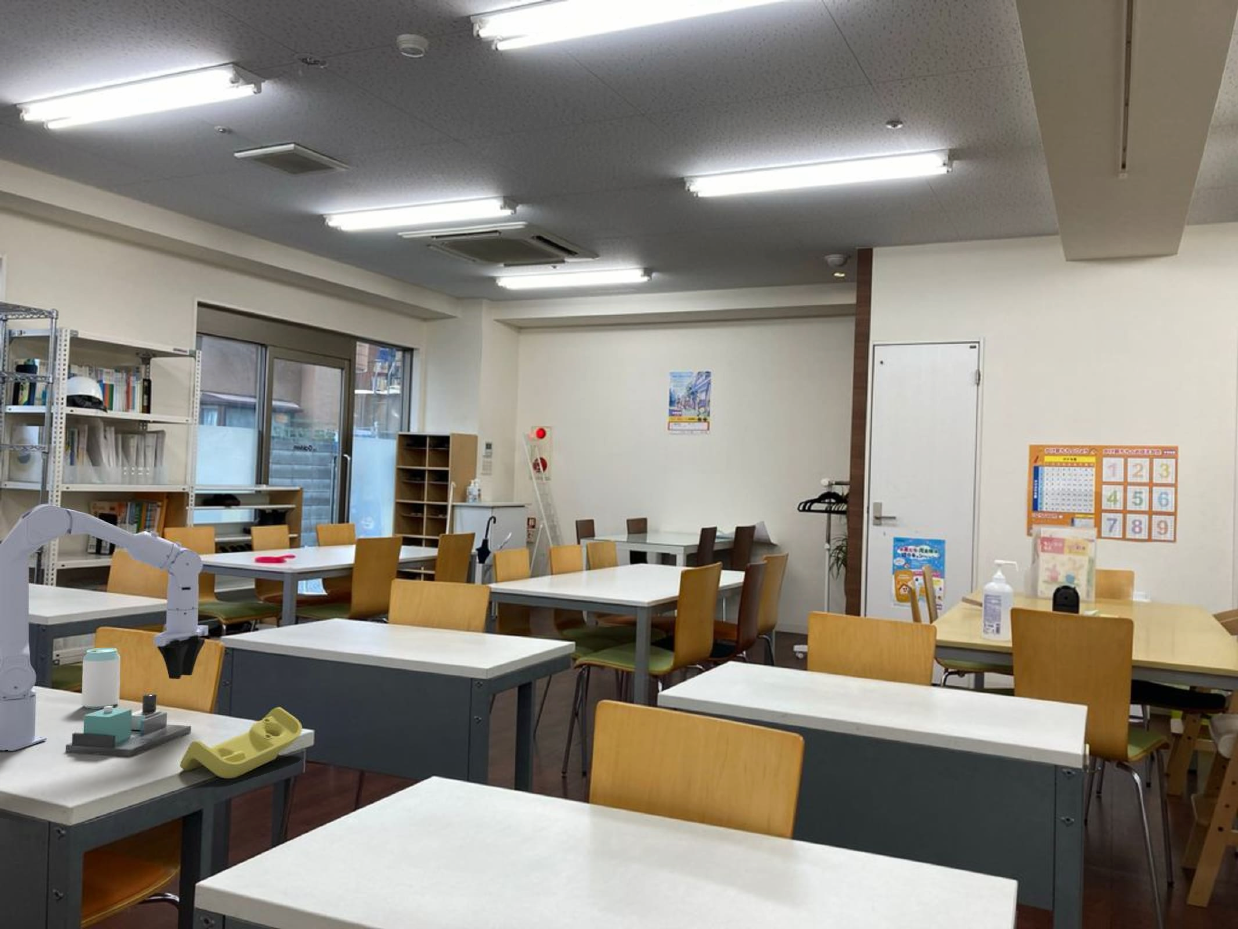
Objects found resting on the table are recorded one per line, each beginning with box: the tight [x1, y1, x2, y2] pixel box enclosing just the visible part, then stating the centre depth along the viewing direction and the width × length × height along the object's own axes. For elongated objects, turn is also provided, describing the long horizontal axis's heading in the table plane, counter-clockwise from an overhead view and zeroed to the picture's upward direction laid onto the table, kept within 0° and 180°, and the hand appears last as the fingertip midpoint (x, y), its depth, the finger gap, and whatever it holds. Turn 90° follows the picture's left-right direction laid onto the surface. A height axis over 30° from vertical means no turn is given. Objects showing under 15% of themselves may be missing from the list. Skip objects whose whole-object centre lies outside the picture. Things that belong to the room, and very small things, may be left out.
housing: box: [83, 706, 133, 743], centre depth 173 cm, size 5×6×6 cm
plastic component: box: [179, 706, 303, 779], centre depth 166 cm, size 20×7×10 cm
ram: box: [131, 693, 163, 730], centre depth 182 cm, size 4×5×6 cm
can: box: [81, 647, 121, 710], centre depth 204 cm, size 7×7×12 cm
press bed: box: [65, 711, 192, 757], centre depth 176 cm, size 13×17×4 cm
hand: (180, 676), depth 190 cm, fingers open, 3 cm apart
